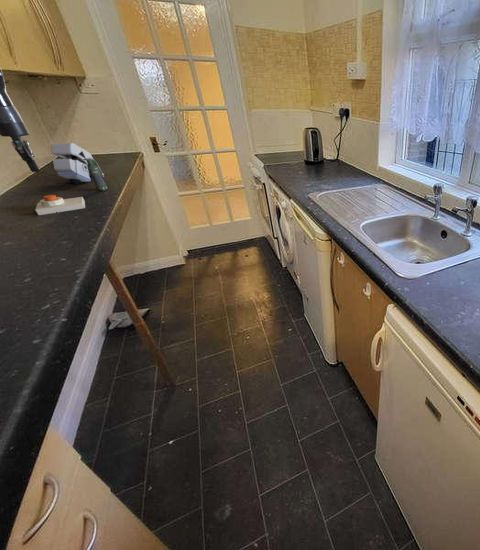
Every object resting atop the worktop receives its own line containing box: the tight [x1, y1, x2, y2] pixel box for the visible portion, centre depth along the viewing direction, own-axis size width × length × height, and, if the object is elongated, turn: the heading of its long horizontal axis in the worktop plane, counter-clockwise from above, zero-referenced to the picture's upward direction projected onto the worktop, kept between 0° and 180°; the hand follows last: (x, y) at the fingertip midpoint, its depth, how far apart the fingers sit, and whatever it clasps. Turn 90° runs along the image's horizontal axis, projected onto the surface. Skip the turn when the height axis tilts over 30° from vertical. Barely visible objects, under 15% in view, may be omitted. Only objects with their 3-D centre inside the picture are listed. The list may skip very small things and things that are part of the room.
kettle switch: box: [43, 194, 58, 201], centre depth 118 cm, size 4×4×2 cm
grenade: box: [83, 157, 108, 192], centre depth 140 cm, size 4×4×15 cm
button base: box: [35, 196, 86, 216], centre depth 121 cm, size 14×11×4 cm
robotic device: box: [50, 142, 105, 185], centre depth 155 cm, size 10×21×20 cm
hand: (36, 171), depth 113 cm, fingers closed
